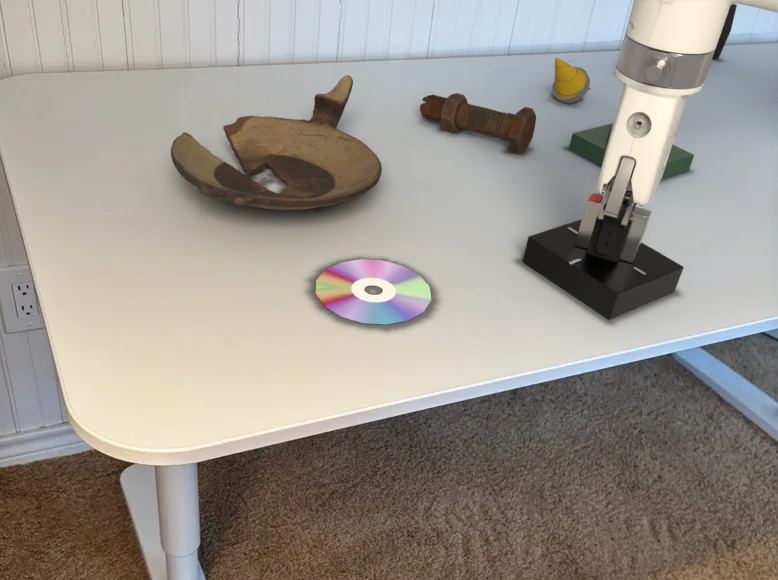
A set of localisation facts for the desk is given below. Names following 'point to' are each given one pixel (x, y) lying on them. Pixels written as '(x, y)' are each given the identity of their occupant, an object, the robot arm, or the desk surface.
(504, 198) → the desk surface
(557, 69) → the yellow spiral cone
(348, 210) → the desk surface
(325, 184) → the broken bowl
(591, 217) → the gray slab
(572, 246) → the black lever switch box
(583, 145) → the release box
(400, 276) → the cd
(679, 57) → the robot arm
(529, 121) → the bolt
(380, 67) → the desk surface
